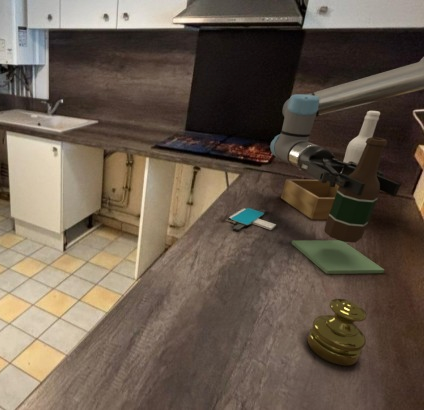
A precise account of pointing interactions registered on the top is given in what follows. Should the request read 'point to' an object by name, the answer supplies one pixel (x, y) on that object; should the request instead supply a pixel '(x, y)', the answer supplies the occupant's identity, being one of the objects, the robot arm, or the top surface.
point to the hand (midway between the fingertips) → (379, 189)
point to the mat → (336, 257)
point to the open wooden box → (310, 197)
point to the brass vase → (338, 333)
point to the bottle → (361, 138)
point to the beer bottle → (357, 197)
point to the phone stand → (249, 219)
